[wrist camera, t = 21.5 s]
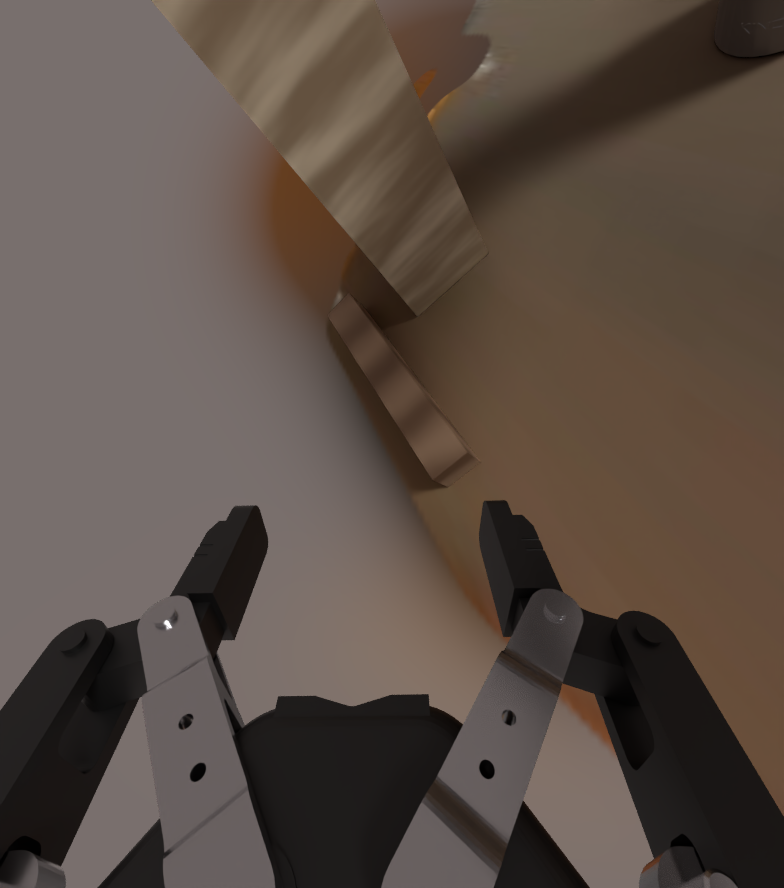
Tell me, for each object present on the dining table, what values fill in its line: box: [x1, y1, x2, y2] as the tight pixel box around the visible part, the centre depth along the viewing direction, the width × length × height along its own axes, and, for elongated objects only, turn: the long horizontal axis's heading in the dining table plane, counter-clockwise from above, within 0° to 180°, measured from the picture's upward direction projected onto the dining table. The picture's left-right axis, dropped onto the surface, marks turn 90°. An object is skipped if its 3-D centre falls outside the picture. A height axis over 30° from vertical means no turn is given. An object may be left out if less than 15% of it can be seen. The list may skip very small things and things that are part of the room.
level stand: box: [151, 0, 489, 317], centre depth 30 cm, size 22×9×33 cm, turn 27°
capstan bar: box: [327, 293, 481, 487], centre depth 36 cm, size 24×4×4 cm, turn 30°
